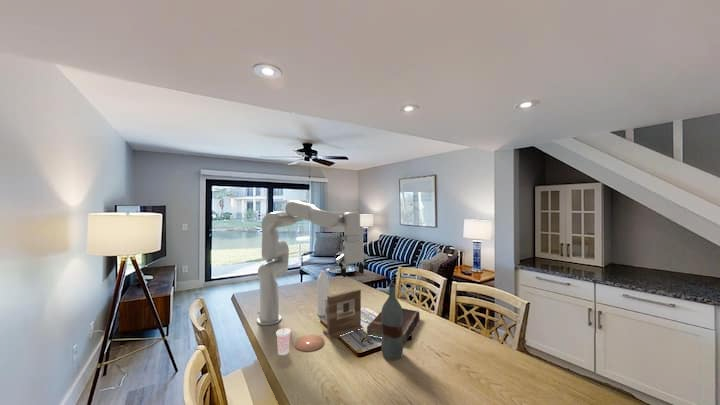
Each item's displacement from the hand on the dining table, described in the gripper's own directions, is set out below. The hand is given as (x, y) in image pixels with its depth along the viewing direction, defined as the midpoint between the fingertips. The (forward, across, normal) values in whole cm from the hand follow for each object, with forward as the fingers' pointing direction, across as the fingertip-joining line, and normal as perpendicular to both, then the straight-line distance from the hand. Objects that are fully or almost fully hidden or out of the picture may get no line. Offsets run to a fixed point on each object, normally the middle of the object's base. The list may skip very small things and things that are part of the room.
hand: (352, 274), depth 129 cm
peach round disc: (+30, -19, +8) cm, 36 cm away
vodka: (+31, +7, -20) cm, 37 cm away
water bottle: (+30, +2, +34) cm, 45 cm away
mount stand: (+30, 0, +9) cm, 32 cm away
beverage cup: (+30, -31, +8) cm, 44 cm away
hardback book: (+31, +24, -2) cm, 40 cm away
